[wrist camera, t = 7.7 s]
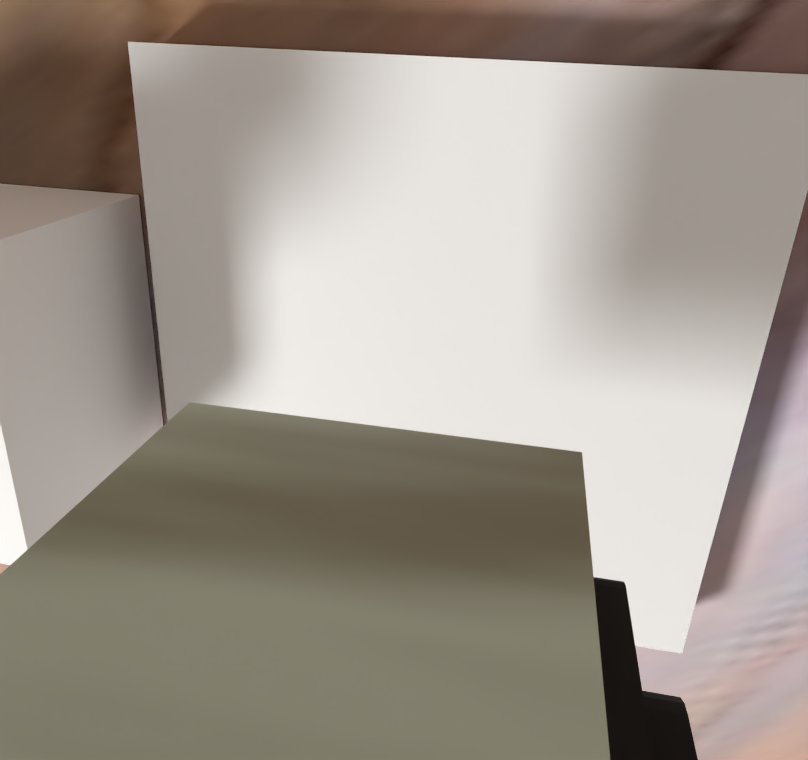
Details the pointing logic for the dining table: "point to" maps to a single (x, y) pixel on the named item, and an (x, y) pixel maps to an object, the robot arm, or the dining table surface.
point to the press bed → (420, 277)
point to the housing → (309, 602)
